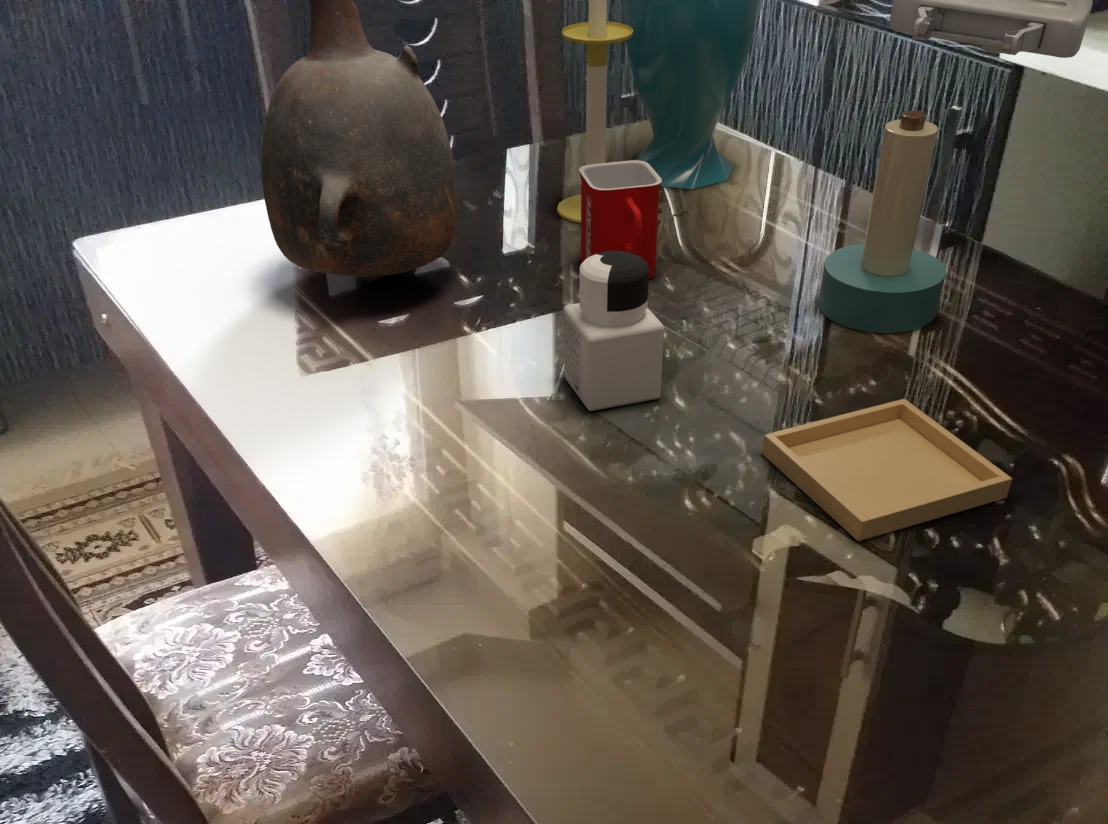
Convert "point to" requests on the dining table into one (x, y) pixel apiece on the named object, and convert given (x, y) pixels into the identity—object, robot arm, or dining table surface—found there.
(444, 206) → the jug
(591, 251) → the mug
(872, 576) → the dining table surface
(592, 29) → the candle
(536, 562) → the dining table surface
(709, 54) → the vase
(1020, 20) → the robot arm
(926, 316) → the stand
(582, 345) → the container
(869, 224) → the canister
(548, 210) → the dining table surface
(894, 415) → the tray
